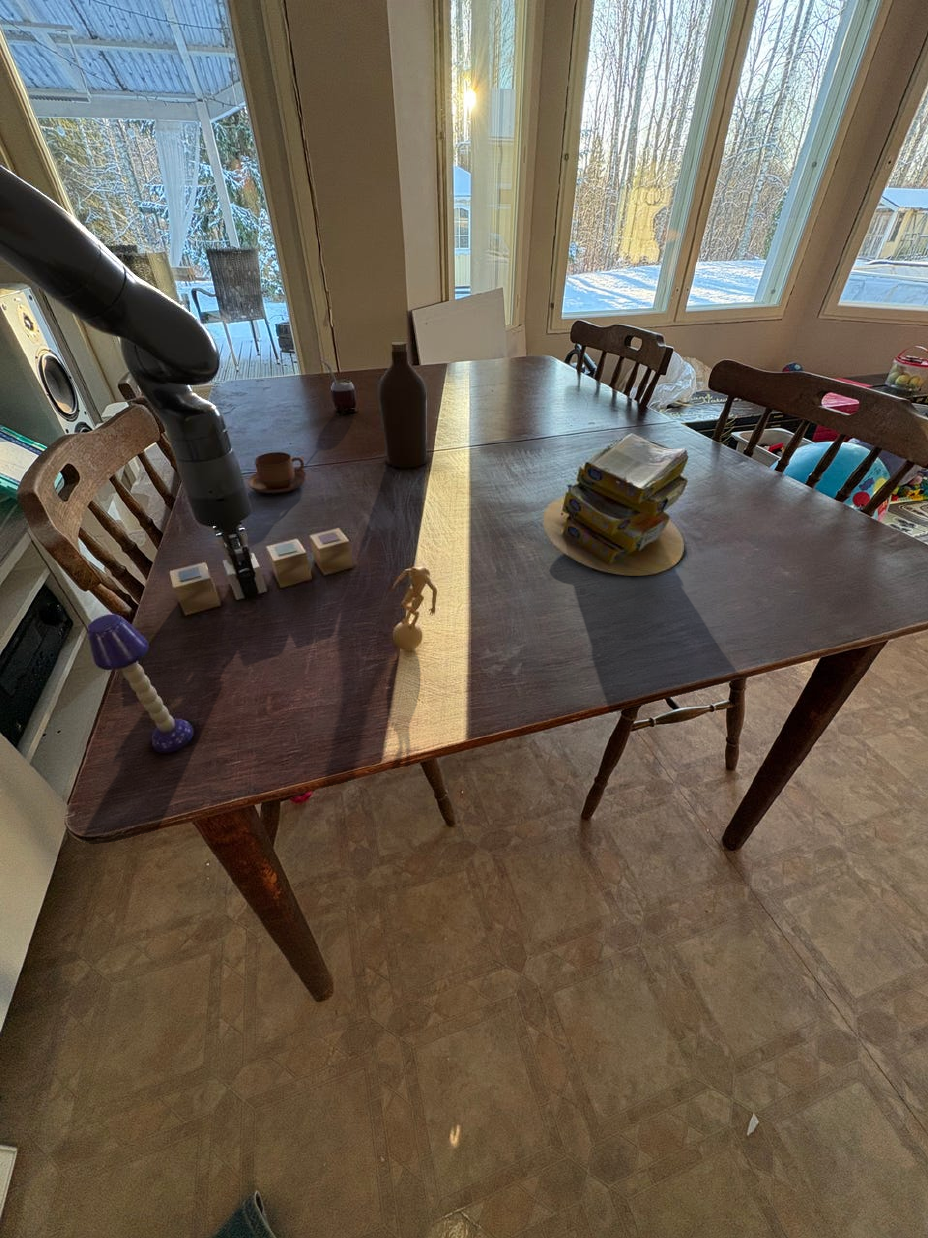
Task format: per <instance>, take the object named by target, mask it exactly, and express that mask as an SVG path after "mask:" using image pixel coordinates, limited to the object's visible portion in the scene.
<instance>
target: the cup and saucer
mask: <svg viewBox="0 0 928 1238" xmlns="http://www.w3.org/2000/svg"><path fill="white" fill-rule="evenodd" d="M297 461H298V462H300V466H299V467H294V464H293V463H294V462H297ZM254 464H255V465H254V466H255V468H256V471H257V472H256V473H254V474H252V475H251V476H250V477H249V479H248V480H247V483H248V485H249V487H250V488H251V489H253V490H254V491H256V492H259V493H263V494H282V493H283V494H284V493H287V492H290V491H293V490H295V489H298V488H299V487H301V486H302V485H303V484H304V483H305V482H306V480H307V478H308V477H307V473H306V472H305V471H304V470H303V468H304V466H305V462H304V460H303V459H302V458H301V457H299V456H297V457H296V456H295V457H292V456H291V454H290V453H288V452H284V451H283V452H282V451H273V452H266V453H263V454H260V455H258V456H256V457H255V459H254Z"/></svg>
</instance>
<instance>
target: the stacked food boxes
mask: <svg viewBox="0 0 928 1238" xmlns="http://www.w3.org/2000/svg"><path fill="white" fill-rule="evenodd" d="M614 444H615V445H614ZM688 460H689V455H688V451H687V449H686V448H676V449H675V448H673V449H672V448H670V447H667V446H665V445H663V444H661V443H658V442H655V441H652V440H649V439H646V438H645V437H641V436H640V435H637V434H635V433H634V432H632V433H629V434H627V436H625V437H624V438H621V439H619V440H616V441H613V442H612V443H609V444H608V445H607V446H606V448H604V449H603V450H601V451H599V452H596V454H595V455H593V456H591V457H589V458H587V460H586V461H585V463H584V464H582V465H580V466H579V467H578V468H579V469H578V472H577V471H575V473H574V474H577V476H576V482H577V483H576V484H574V485H572V484H566V486H567V489H568V490H567V492H565V494H564V495H562V496H560V497H557V498H556V499H554V500H553V501H552V502H550V503H549V504H548V506H546V508H545V510H544V513H543V515H542V525H543V530H544V531H545V534H546V536H547V537H548V539H549V540H550V541H551V542H552V544H553V545H554V546H556V548H558V550H560V551H561V553H563V554H565V555H566V556H568V557H569V558H570V559H573V560H574V561H576V562H578V563H580V564H583V565H584V566H587V567H589V568H591V569H595V570H597V571H600V572H605V573H609V574H614V575H620V576H628V577H629V576H631V577H636V576H638V577H640V576H650V575H656V574H659V573H662V572H665V571H667V570H669V569H671V568H672V567H674V566H675V565H676V564H677V563H678V562H679V561H680V560H681V558H682V557H683V554H684V550H685V543H684V539H683V536H682V534H681V532H680V530H679V529H678V527H677V526H676V525H675V524H674V523H673V522H672V521H671V520H670V518H671V517H670V515H669V514H668V513H667V512H665V511H666V510H668V509H669V508H670V507H671V506H673V505H674V504H675V503H676V502H677V501H678V500H679V499H680V496H682V495H683V494H684V491H685V489H686V487H687V485H688V482H689V480H688V478H686V477H683V476H682V474H683V473H684V470H685V468H686V466H687V463H688Z"/></svg>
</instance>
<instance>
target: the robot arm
mask: <svg viewBox="0 0 928 1238" xmlns="http://www.w3.org/2000/svg"><path fill="white" fill-rule="evenodd" d="M0 260H2V261H3V262H4V263H5V264H7V265H8V266H9V267H11V268H12V269H14V270H15V271H16V272H18V273H19V274H20V275H21V276H23V277H24V278H25V279H27V280H28V281H29V282H31V283H32V284H33V285H34V286H36V287H37V288H38V289H40V291H42V292H44V293H45V294H46V295H48V297H50V298H51V299H53V300H54V302H57V303H58V304H59V305H60V306H62V307H63V308H65V309H66V310H67V311H68V312H69V313H71V314H72V315H74V316H75V317H76V318H78V319H79V320H80V321H81V322H83V323H84V324H86V325H88V326H89V327H91V328H93V329H95V330H96V331H98V332H101V333H103V334H106V335H109V336H110V335H111V336H113V337H117V338H119V345H120V351H121V356H122V358H123V361H124V365H125V366H126V369H127V370H128V372H129V374H130V377H132V379H133V381H134V382H135V384H136V386H137V387H138V389H139V390H140V392H141V394H142V395H143V396H144V399H145V400H146V401H147V403H148V405H149V407H150V408H151V409H152V411H153V412H154V413H155V415H156V416H157V418H158V419H159V421H160V423H162V425H163V427H164V432H165V434H166V437H167V439H168V443H169V445H170V448H171V451H172V453H173V456H174V459H175V463H176V466H177V473H178V475H179V478H180V481H181V484H182V486H183V489H184V492H185V495H186V497H187V501H188V503H189V505H190V508H191V511H192V513H193V516H194V519H195V521H196V522H197V523H198V524H200V525H202V526H205V527H210V528H212V529H213V532H214V534H215V537H216V539H217V542H218V545H219V546H220V547H221V549H222V551H223V553H224V557H225V560H227V562H228V564H230V565H233V568H234V571H235V577H236V579H238V581H239V584H240V587H241V589H242V592H243V595H244V597H245V598H246V599H248V598H249V599H250V598H252V597H256V596H258V595H259V594H260V593H259V591H258V588H257V585H256V582H255V579H254V577H256V576H255V574H256V573H255V571H254V569H253V565H252V562H251V559H252V555H251V553H252V552H251V548H250V545H249V542H248V540H249V537H248V534H247V531H246V528H245V527H244V526H243V525H244V524H243V523H242V521H243V520H245V519H247V518H248V517H249V516H250V515H251V513H252V506H251V505H252V504H251V501H250V499H249V495H248V491H247V488H246V484H245V481H244V478H243V474H242V470H241V467H240V464H239V461H238V459H237V457H236V455H235V452H234V449H233V447H232V443H231V440H230V436H229V433H228V430H227V426H226V422H225V419H224V416H223V414H222V412H221V410H220V408H219V407H218V406H217V405H216V404H214V403H212V402H211V401H208V400H206V399H204V398H202V397H200V396H199V395H198V394H197V393H196V392H195V391H194V389H193V388H192V386H193V387H195V386H203V385H206V384H208V383H210V382H212V381H213V380H214V379H215V378H216V376H217V375H218V372H219V370H220V366H221V358H220V352H219V347H218V345H217V344H216V341H215V339H214V337H213V336H212V334H211V332H210V331H209V330H208V328H207V327H206V326H205V325H204V323H202V321H200V319H199V318H197V317H196V316H195V315H194V314H193V313H191V312H190V311H189V310H187V309H186V308H185V307H183V306H182V305H181V304H179V303H178V302H176V301H175V300H174V299H172V298H171V297H169V296H167V295H166V294H165V293H163V292H161V290H159V289H158V288H156V287H154V286H153V285H151V284H149V283H148V282H146V281H145V280H143V279H141V278H139V277H138V276H137V275H135V274H134V272H132V271H131V270H130V269H129V268H128V267H127V266H126V265H125V264H124V263H123V262H122V261H121V260H120V259H119V258H118V257H117V256H116V255H115V254H114V253H112V252H111V251H110V250H109V248H107V247H106V246H105V245H104V244H103V243H102V242H101V241H100V240H99V239H98V238H97V237H96V236H95V235H93V234H92V232H90V231H89V230H88V229H87V228H86V226H84V225H83V224H81V222H80V221H78V220H77V219H76V218H75V217H74V216H73V215H72V214H70V213H69V212H68V211H66V210H65V209H64V208H63V207H61V206H60V205H58V204H57V203H56V202H55V201H54V200H52V199H51V198H49V197H48V196H47V195H45V194H43V192H41V191H39V189H36V187H34V186H32V185H30V184H29V183H28V182H26V181H25V180H23V179H22V178H20V177H18V176H17V175H16V174H14V173H13V172H11V171H10V170H8V169H6V168H5V167H4V166H2V165H0ZM258 593H259V594H258ZM245 598H244V599H245Z"/></svg>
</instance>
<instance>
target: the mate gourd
mask: <svg viewBox="0 0 928 1238" xmlns="http://www.w3.org/2000/svg"><path fill="white" fill-rule="evenodd" d="M318 360H319V361H321V362H322V363H323V364H324V365H325V366H326V367H327V369H328V371H329V373H330V375H331V378H332V379H333V381H334V382H332V384H331V387H330V395H331V399H332V402H333V405H334V407H335V410H334V411H335V412H336V413H341V416H345V415H346V414H347V413H357V409H356V407H357V392H356V389H355V386H354V384H353V383H352V382H351V381H350V380H336V377H335V375H334V373H333V370H332V367H331V366H330V365H329V364H328V363H327V362H326V361H324V360H323V359H321V358H319V359H318ZM336 407H337V408H336ZM351 408H355V409H351ZM346 409H347V410H346Z"/></svg>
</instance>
